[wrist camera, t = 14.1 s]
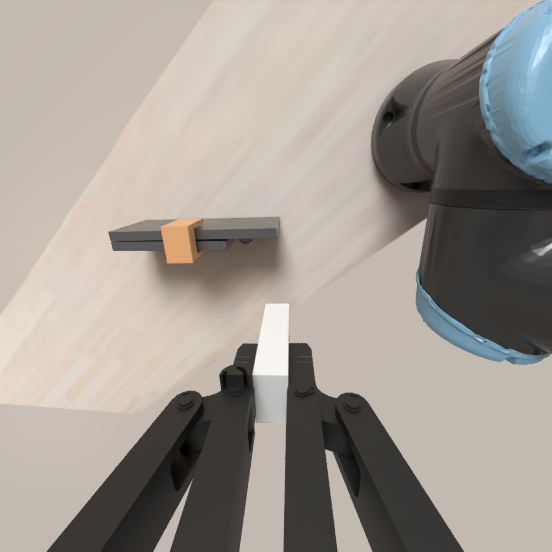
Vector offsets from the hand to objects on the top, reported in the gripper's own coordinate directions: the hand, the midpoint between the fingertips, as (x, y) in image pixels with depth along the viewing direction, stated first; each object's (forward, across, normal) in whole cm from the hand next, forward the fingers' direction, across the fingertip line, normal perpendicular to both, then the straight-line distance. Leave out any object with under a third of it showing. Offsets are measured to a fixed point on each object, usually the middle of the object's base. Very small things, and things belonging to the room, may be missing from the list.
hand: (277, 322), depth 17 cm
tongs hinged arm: (+26, +15, -1) cm, 30 cm away
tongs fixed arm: (+26, +12, -1) cm, 29 cm away
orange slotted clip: (+21, +13, -2) cm, 25 cm away
